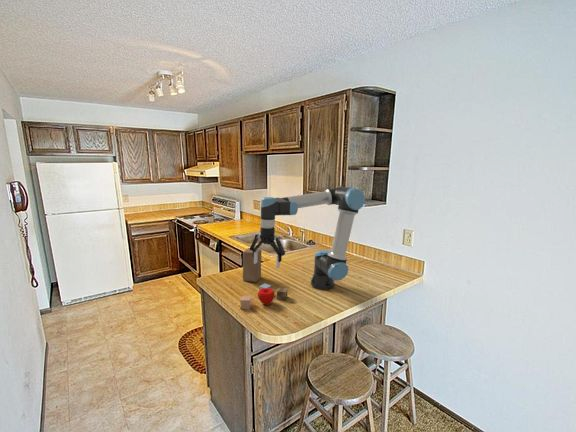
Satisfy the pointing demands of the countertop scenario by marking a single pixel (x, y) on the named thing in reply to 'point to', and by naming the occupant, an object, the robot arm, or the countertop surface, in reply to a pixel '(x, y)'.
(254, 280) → the wooden block
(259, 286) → the slate-blue cube
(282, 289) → the walnut cube
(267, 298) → the apple
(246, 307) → the terracotta cube
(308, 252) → the countertop surface
